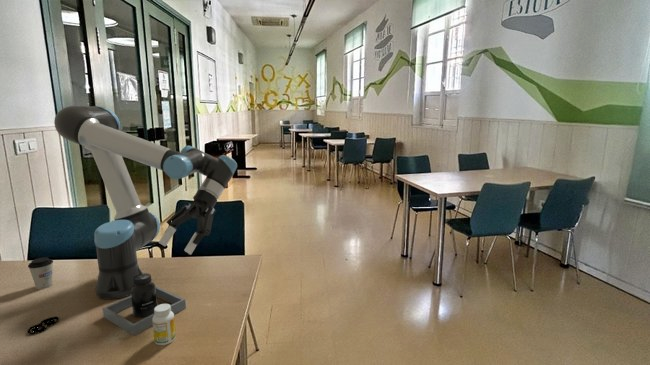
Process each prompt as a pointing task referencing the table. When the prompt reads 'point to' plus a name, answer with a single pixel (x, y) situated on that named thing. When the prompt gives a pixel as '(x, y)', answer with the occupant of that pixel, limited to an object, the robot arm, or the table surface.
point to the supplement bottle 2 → (163, 324)
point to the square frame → (145, 323)
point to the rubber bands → (39, 325)
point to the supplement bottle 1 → (143, 296)
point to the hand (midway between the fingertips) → (174, 248)
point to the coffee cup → (41, 272)
